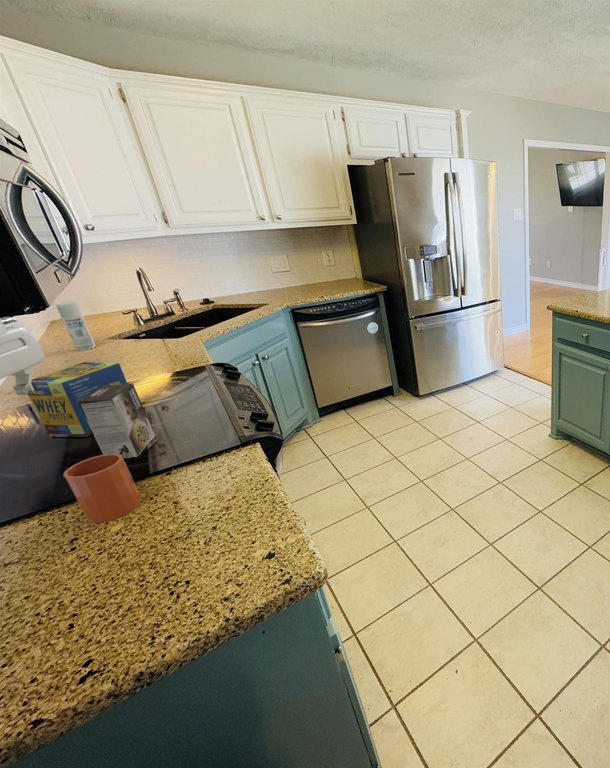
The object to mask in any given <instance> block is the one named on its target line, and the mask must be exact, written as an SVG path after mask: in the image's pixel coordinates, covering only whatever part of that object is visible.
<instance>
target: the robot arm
mask: <svg viewBox="0 0 610 768" xmlns="http://www.w3.org/2000/svg"><path fill="white" fill-rule="evenodd" d="M24 326H25V325H24V324H23V322H21V321H20V320H17V318H13V317H11V316H4V317H0V380H2V379H5V378H6V377H7V378H8V377H9V376H12V377H15V385H13V386H12V388H13V391H15V394H16V395H17V396H28V394H29V393H32V392H33V391H34V388H33V386H32V384H31V380H32V379H33V371H32V369H31V368H32V367H33V366H36V365H39V364H41V363H44V361H45V353H44V351H43V349H42V348H41V347H40V344H39V343H38V341H37V340H36V338H35V337H34V335H33V334H32V333H31V332H30V330H28V329H27V328H26V327H24Z"/></svg>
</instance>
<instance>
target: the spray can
mask: <svg viewBox="0 0 610 768" xmlns="http://www.w3.org/2000/svg"><path fill="white" fill-rule="evenodd" d="M55 307H56V309H57V312H58V314H59V315H60V316H59V317H60V318H61V320H62V322H63V325H64V327H65V328H66V331H67V333H68V335H69V338H70V339H71V342H72V343H73V346H74V348H75V350H76V351H77V350H84V351H87V350H86V349H89V350H91V349H90V348H93V347H95V346H96V343H95V341H94V338H93V336H92V334H91V331H90V329H89V327H88V325H87V322H86V320H85V317H84V315H83V312H82V310H81V308H80V306H79V303H78V301H65V302H59V303H55ZM93 349H94V348H93Z"/></svg>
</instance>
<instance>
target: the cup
mask: <svg viewBox="0 0 610 768" xmlns="http://www.w3.org/2000/svg"><path fill="white" fill-rule="evenodd" d="M63 478H64V480H65V481H66V483H67V485H68V487H69V489H70V491H71V492H72V494H73V496H74V498H75V500H76V502H77V504H78V505H79V508H80V510H81V511H82V513H83V515H84V516H85V518H86V520H87V521H88V522H89V523H91V524H102V523H107V522H110V521H113V520H117V519H120V518H122V517H124V516H126V515H128V514H130V513H131V512H133V511H135V509H137V508H138V507H139V506H140V505H141V504H142V496H141V494H140V491H139V489H138V487H137V485H136V483H135V480H134V478H133V476H132V473H131V472H130V469H129V468H128V466H127V462H125V461H124V459H123V456H121V455H120V454H105V455H103V454H100V455H96V456H92V457H89V458H86V459H84V460H81V461H80V462H77V463H75V464H73V465H71V466H70V467H69V468H67V469H66V470H65V471H64V472H63Z"/></svg>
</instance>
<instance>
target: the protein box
mask: <svg viewBox="0 0 610 768" xmlns="http://www.w3.org/2000/svg"><path fill="white" fill-rule="evenodd" d="M31 384H32V386H33V388H34V391H33V392H32V393H29V394H27V396H28V398H29V400H30V402H31V403H32V405H33V408H34V409H35V411H36V414H37V416H38V417H39V419H40V422H41V423H42V425H43V427H44V429H45V430H46V433H47V434H48V435H49V434H84V433H86V432H88V431H90V430H91V428H90V426H89V424H88V422H87V420H86V418H85V416H84V414H83V411H82V409H81V407H80V405H79V403H78V401H80V400H81V399H83V398H84V397H86V396H87V395H89V394H90V393H92V392H94V391H95V390H97V389H98V388H100V387H101V386H108V385H119V384H122V385H123V384H128V381H127V379H126V376H125V374H124V372H123V369H122V366H121V365H120V362H98V361H97V362H96V361H95V362H93V361H92V362H91V361H83V362H79V363H77V364H74V365H72V366H68V367H66V368H63V369H60V370H57V371H54V372H51V373H47V374H44V375H42V376H38V377H35V378H32V380H31Z"/></svg>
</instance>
